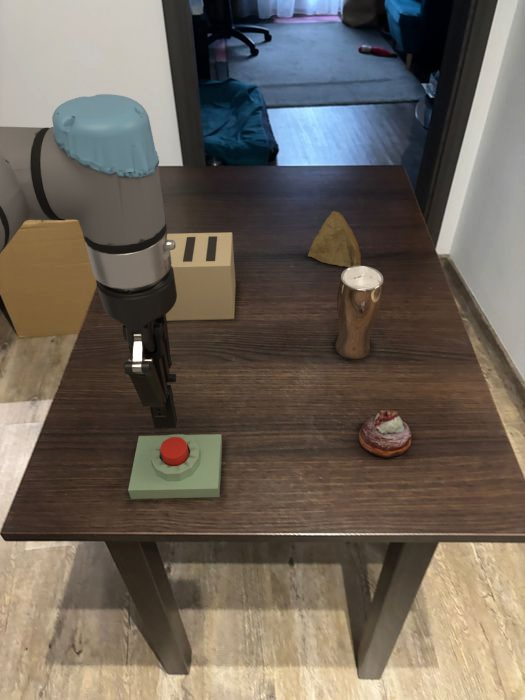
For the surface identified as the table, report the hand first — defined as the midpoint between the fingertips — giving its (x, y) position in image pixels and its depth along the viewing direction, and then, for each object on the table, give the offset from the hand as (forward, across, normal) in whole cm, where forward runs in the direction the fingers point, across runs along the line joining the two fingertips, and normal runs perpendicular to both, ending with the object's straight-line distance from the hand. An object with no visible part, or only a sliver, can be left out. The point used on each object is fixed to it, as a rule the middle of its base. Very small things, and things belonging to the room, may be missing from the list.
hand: (165, 423), depth 67 cm
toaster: (+10, +38, +1) cm, 40 cm away
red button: (+7, 0, 0) cm, 7 cm away
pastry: (+10, +4, -30) cm, 32 cm away
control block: (+10, 0, 0) cm, 10 cm away
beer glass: (+10, +24, -28) cm, 39 cm away
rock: (+10, +52, -28) cm, 60 cm away
